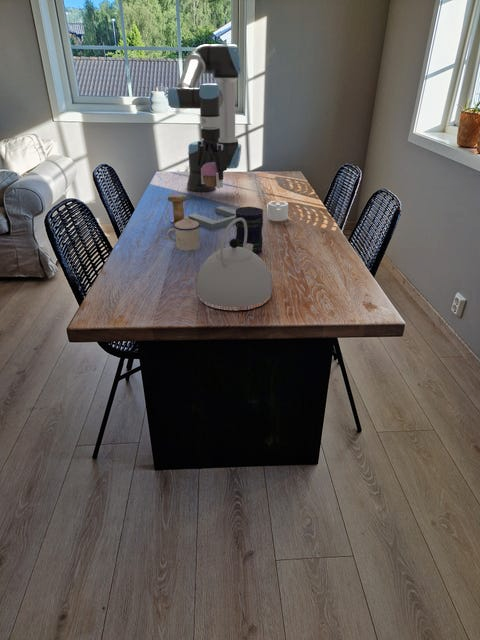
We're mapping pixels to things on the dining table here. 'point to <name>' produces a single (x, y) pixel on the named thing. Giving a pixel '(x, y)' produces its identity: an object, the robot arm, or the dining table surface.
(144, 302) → the dining table surface
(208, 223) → the notched board
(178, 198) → the bobbin
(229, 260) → the kettle
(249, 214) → the storage jar
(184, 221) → the teacup with lid
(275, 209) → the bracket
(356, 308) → the dining table surface
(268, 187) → the dining table surface
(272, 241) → the dining table surface
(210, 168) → the cupcake
